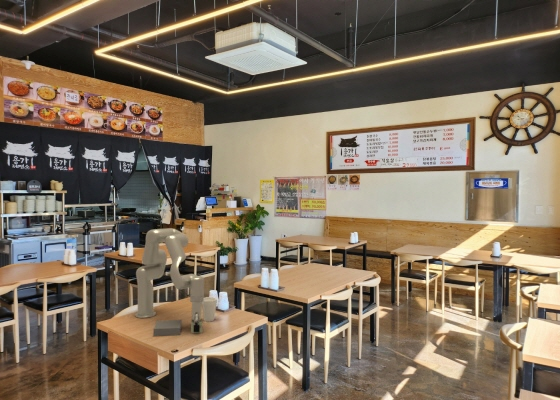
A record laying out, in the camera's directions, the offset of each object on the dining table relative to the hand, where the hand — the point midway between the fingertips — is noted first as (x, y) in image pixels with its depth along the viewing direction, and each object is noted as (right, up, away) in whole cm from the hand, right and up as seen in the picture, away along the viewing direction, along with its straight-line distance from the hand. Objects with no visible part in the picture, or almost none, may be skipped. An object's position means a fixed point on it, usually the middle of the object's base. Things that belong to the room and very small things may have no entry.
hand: (196, 329), depth 226 cm
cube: (0, -1, 0) cm, 1 cm away
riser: (-16, -1, -1) cm, 16 cm away
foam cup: (+3, -1, +20) cm, 20 cm away
